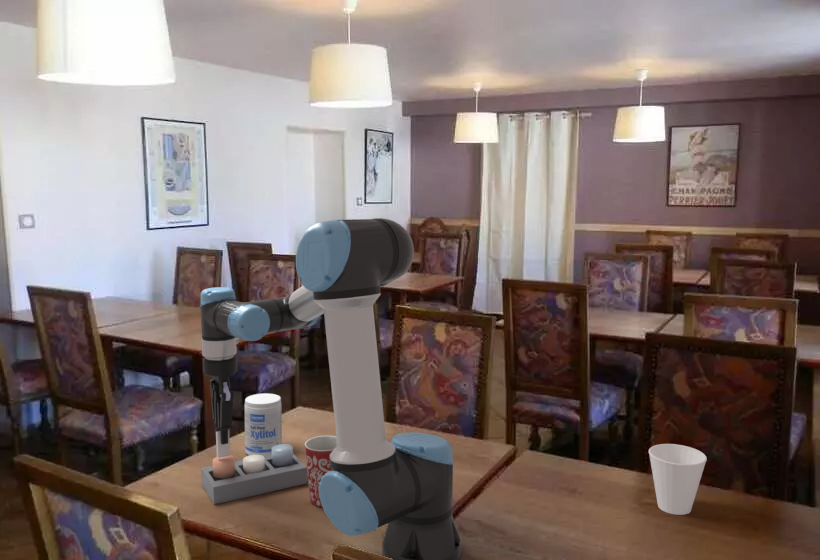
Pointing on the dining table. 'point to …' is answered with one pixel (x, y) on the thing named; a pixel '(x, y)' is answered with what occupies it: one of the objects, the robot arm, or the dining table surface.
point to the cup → (676, 476)
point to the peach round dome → (224, 467)
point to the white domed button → (253, 464)
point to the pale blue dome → (282, 454)
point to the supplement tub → (262, 423)
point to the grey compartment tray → (253, 480)
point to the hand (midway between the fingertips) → (223, 455)
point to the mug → (318, 463)
